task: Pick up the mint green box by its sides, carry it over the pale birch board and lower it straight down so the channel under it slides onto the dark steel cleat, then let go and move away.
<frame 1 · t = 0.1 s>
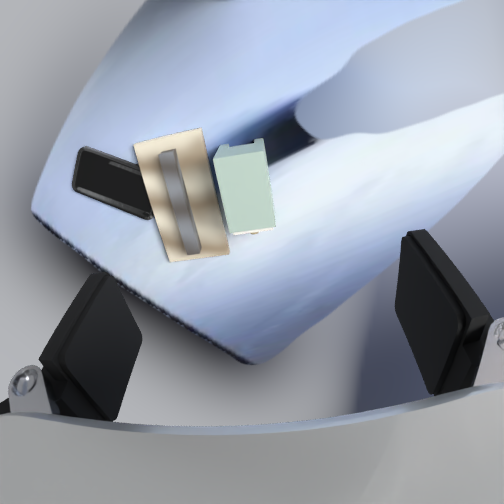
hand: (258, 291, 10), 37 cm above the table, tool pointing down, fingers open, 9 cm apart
phone: (118, 180, 47), on the table
mint green box: (247, 174, 46), on the table
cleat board: (183, 198, 48), on the table
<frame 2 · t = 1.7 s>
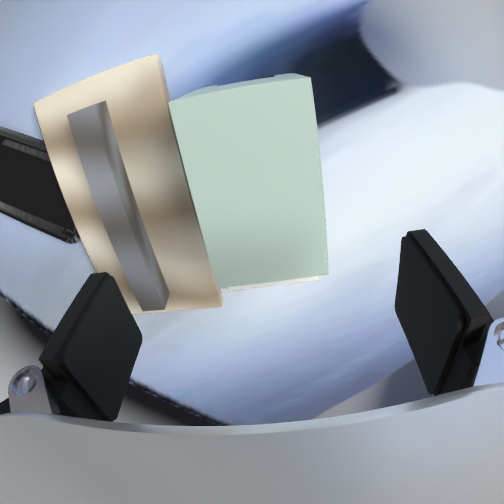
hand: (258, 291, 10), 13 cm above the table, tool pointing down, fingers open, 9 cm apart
phone: (22, 173, 22), on the table
mint green box: (258, 151, 21), on the table
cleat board: (130, 203, 23), on the table
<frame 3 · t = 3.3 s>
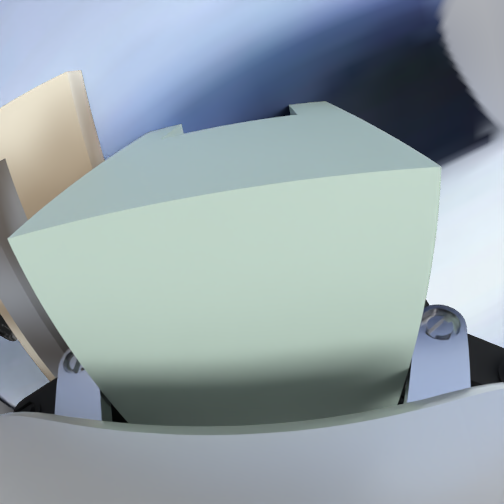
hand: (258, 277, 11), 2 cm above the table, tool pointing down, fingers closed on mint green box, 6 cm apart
mint green box: (258, 244, 13), on the table, touching gripper
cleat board: (69, 304, 15), on the table
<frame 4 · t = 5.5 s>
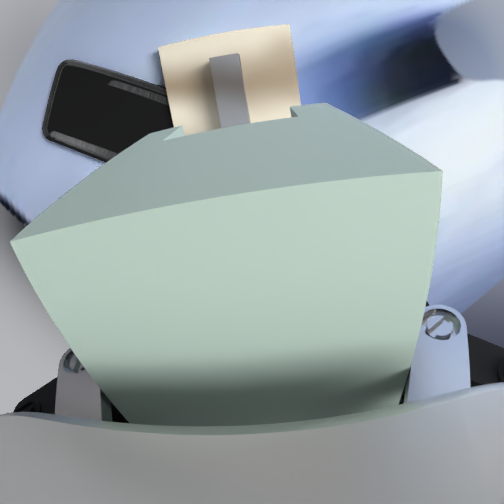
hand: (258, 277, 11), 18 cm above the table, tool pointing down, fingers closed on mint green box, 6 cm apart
phone: (121, 117, 25), on the table
mint green box: (259, 245, 13), point 16 cm above the table, touching gripper
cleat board: (243, 151, 26), on the table
when the fingers open (4 cm above the table, at t = 8.0 s): mint green box stays where it is, resting on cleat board.
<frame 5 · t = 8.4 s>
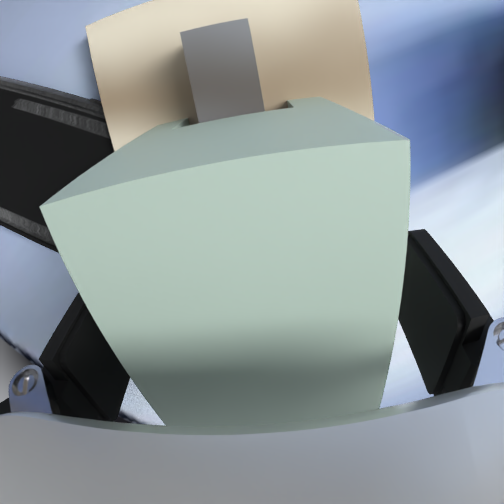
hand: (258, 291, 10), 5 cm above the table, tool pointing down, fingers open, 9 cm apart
phone: (44, 161, 13), on the table
mint green box: (259, 230, 13), point 1 cm above the table, touching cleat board
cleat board: (258, 221, 14), on the table
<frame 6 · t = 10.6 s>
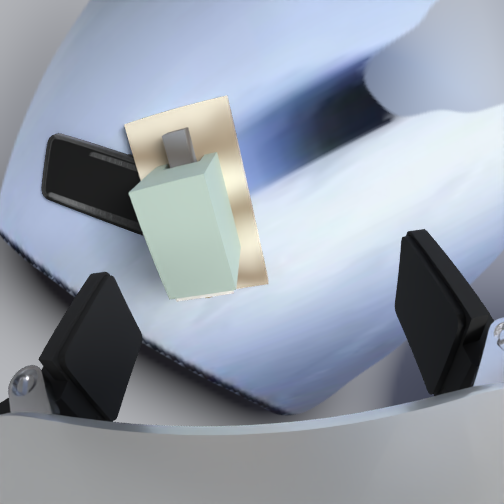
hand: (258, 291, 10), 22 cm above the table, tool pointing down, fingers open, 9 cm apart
phone: (103, 180, 32), on the table
mint green box: (199, 207, 31), point 1 cm above the table, touching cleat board
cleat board: (201, 204, 32), on the table
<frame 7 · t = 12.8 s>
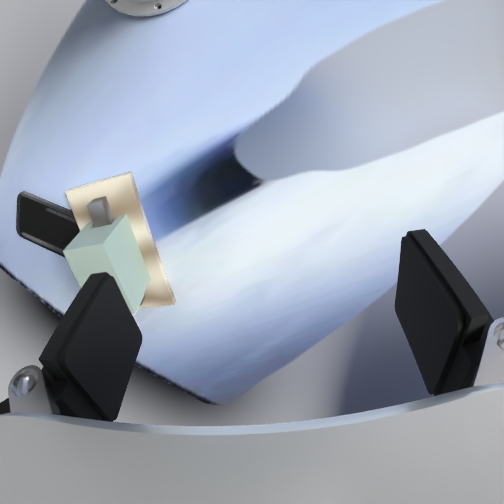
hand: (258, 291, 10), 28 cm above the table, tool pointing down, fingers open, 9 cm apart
phone: (58, 226, 42), on the table
mint green box: (119, 250, 42), point 1 cm above the table, touching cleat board
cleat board: (122, 247, 43), on the table
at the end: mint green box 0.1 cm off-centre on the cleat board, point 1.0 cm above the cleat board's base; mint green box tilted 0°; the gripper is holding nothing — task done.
